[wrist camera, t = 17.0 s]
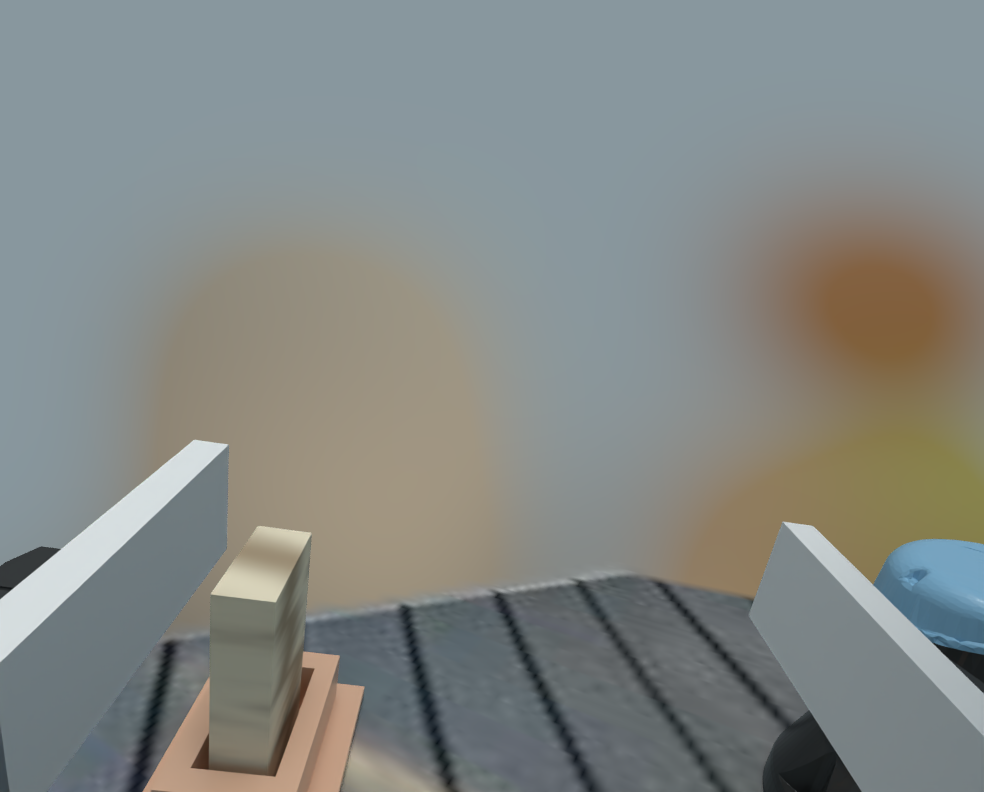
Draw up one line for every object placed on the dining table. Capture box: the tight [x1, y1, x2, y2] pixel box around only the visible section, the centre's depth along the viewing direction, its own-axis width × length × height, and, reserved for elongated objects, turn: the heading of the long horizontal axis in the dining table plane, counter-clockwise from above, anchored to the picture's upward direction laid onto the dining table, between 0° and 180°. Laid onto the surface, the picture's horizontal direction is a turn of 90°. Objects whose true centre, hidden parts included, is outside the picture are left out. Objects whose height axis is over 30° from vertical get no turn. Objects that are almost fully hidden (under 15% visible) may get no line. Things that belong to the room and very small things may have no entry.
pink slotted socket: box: [143, 652, 364, 792], centre depth 39 cm, size 14×12×5 cm
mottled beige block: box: [209, 526, 312, 777], centre depth 37 cm, size 7×4×16 cm, turn 1°
